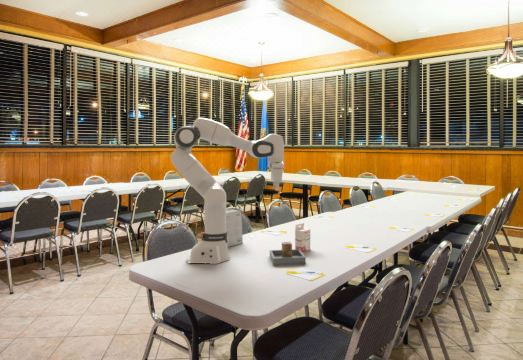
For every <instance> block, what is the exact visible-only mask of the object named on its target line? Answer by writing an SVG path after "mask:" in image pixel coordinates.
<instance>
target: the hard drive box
mask: <svg viewBox="0 0 523 360" xmlns="http://www.w3.org/2000/svg"><path fill="white" fill-rule="evenodd" d="M226 231H227V234H228V241H227V246H228V248H229V247H232V246H236V245H240V244H243V241H244V240H243V216H242V210H238V209H237V210H236V209H231V210H226Z"/></svg>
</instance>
